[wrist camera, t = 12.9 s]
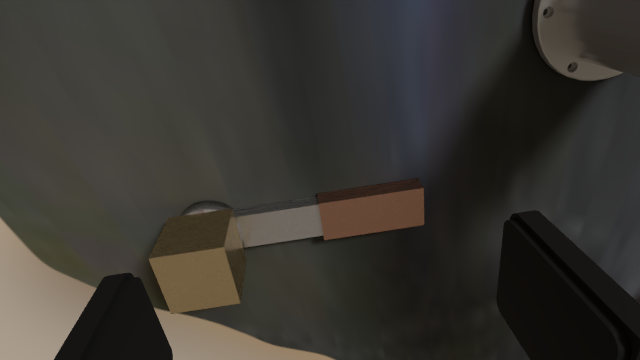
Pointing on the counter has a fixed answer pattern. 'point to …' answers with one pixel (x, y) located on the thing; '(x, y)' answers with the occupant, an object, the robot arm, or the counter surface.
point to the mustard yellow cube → (200, 261)
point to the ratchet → (328, 213)
